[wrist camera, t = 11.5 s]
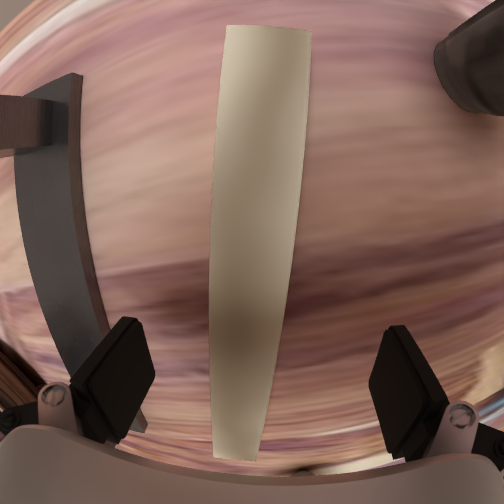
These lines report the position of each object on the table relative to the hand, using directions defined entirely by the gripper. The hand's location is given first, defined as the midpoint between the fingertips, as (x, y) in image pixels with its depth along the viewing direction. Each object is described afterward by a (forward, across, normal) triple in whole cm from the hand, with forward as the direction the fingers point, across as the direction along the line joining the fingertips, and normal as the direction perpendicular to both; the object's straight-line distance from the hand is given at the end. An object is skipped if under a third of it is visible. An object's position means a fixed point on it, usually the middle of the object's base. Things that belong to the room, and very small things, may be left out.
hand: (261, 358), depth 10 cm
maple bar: (+4, +1, 0) cm, 5 cm away
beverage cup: (+5, -11, -13) cm, 18 cm away
